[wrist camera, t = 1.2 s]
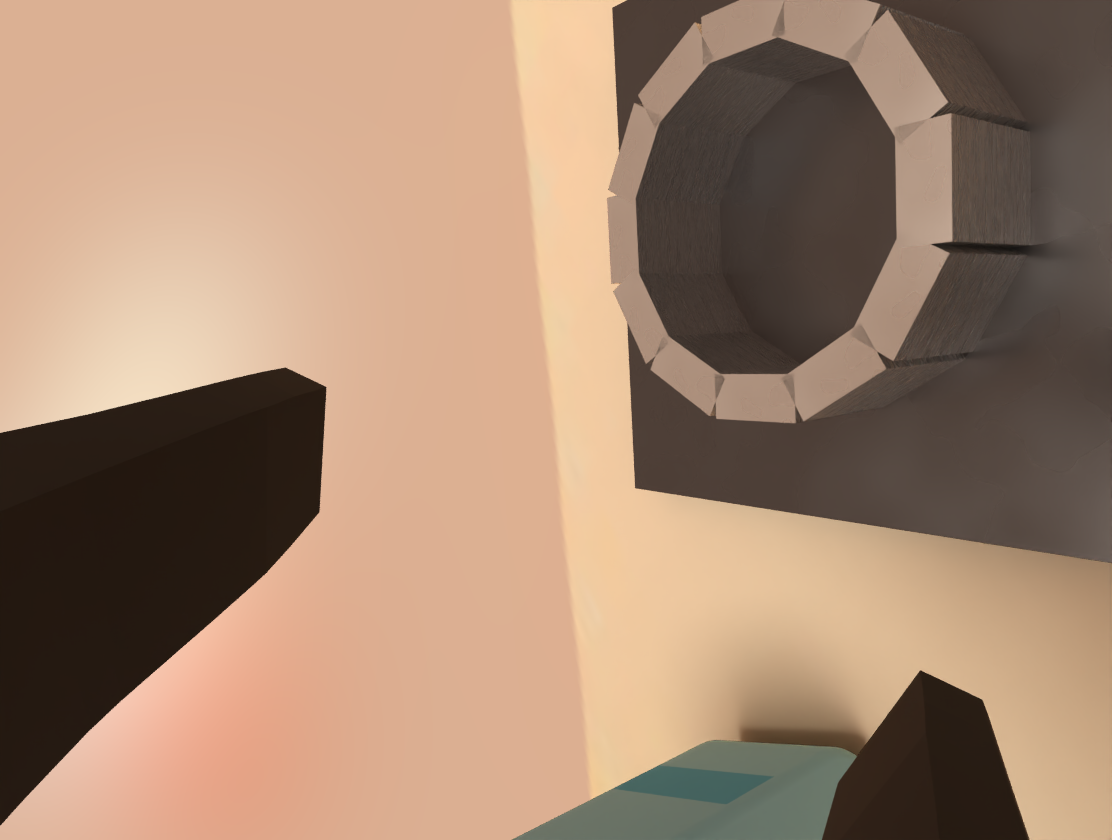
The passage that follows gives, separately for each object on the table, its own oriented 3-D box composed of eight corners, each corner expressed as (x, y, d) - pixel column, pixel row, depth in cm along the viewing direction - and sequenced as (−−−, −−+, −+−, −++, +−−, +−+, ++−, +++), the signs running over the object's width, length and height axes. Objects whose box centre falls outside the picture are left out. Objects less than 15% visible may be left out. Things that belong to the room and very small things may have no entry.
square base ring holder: (1233, -275, 14) (1146, -395, 11) (1214, 564, 15) (1133, 620, 13) (637, 14, 25) (528, -14, 22) (658, 483, 26) (557, 504, 24)
